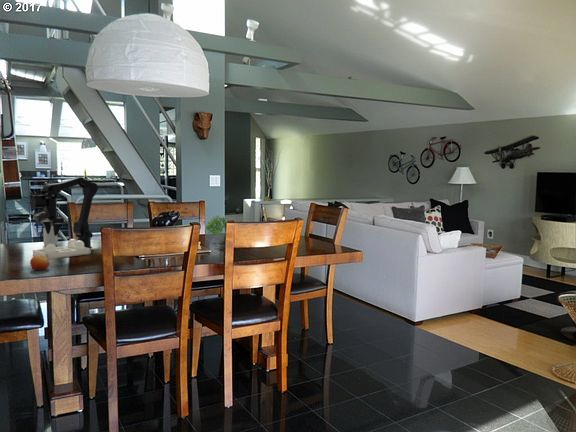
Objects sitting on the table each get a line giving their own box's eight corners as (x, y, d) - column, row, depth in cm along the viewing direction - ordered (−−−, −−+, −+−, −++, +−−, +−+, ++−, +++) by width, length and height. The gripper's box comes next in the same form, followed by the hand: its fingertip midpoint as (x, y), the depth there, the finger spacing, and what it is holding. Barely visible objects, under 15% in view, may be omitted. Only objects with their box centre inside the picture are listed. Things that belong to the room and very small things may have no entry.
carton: (76, 250, 265) (76, 237, 264) (90, 253, 255) (90, 240, 254) (33, 255, 246) (32, 241, 246) (46, 259, 236) (45, 245, 235)
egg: (53, 255, 246) (53, 242, 245) (57, 256, 242) (57, 243, 242) (43, 256, 242) (43, 243, 241) (48, 257, 239) (47, 244, 238)
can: (51, 246, 275) (51, 226, 274) (40, 245, 276) (40, 226, 275) (60, 244, 282) (59, 225, 281) (49, 243, 284) (49, 224, 283)
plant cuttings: (228, 248, 319) (202, 229, 317) (243, 229, 318) (217, 210, 316) (223, 258, 284) (194, 236, 282) (239, 237, 283) (211, 215, 281)
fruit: (31, 265, 216) (39, 250, 216) (46, 273, 217) (54, 259, 217) (22, 268, 208) (31, 253, 208) (38, 277, 209) (47, 262, 209)
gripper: (28, 206, 253) (29, 234, 255) (43, 208, 241) (44, 238, 243) (49, 205, 262) (50, 232, 263) (64, 207, 250) (65, 236, 251)
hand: (51, 234), depth 255 cm, fingers open, 9 cm apart
